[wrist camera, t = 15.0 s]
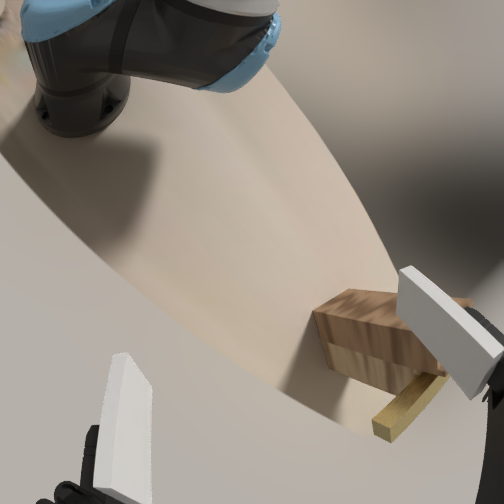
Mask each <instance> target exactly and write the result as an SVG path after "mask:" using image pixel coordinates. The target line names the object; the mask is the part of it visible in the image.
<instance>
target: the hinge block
mask: <svg viewBox="0 0 504 504" xmlns="http://www.w3.org/2000/svg"><path fill="white" fill-rule="evenodd" d="M397 295H398V293H389V292H378V291H367V290H356V289H348V290H346V291H344V292H343V293H341V294H339V295H338V296H336V297H335V298H333V299H331V300H330V301H328V302H326V303H325V304H323V305H321V306H320V307H318V308H316V309H315V310H313V313H314V317H315V320H316V324H317V327H318V330H319V334H320V337H321V341H322V344H323V348H324V351H325V355H326V358H327V362H328V365H329V369H332V370H334V371H336V372H339V373H341V374H343V375H346V376H348V377H351V378H353V379H355V380H358V381H360V382H363V383H365V384H368V385H370V386H373V387H375V388H378V389H380V390H383V391H385V392H388V393H391V394H393V395H396V396H397V395H398V394H399V393H400V392H401V391H402V390H403V389H404V388H405V387H406V386H407V385H408V384H409V383H410V382H411V381H412V380H413V379H414V378H415V377H416V376H417V375H420V374H421V373H422V372H426V373H430V374H434V375H438V376H442V377H446V376H447V375H448V372H447V371H446V370H445V369H444V368H443V366H442V365H441V364H440V363H439V362H438V361H437V359H436V358H435V357H434V356H433V355H432V354H431V352H430V351H429V350H428V349H427V348H426V347H425V345H424V344H423V343H422V342H421V341H420V340H419V339H418V337H417V336H416V335H415V334H414V333H413V332H412V331H411V330H410V328H409V327H408V326H407V325H406V324H405V323H404V322H403V321H402V320H401V319H400V317H399V316H398V315H397V314H396V305H397ZM450 298H451V299H453V300H454V301H455V302H456V303H457V304H458V305H459V306H461V307H462V308H463V309H464V308H465V307H467V306H468V307H470V308H471V307H472V306H473V299H467V298H452V297H450Z"/></svg>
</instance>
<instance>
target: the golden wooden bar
mask: <svg viewBox="0 0 504 504" xmlns="http://www.w3.org/2000/svg"><path fill="white" fill-rule="evenodd" d="M449 377H450V375H449V374H448V375H447V376H446V377H442V376H438V375H434V374H430V373H426V372H422V373H421V374H420V375H417V376H416V377H415V378H414V379H413V380H412V381H411V382H410V383H409V384H408V385H407V386H406V387H405V388H404V389H403V390H402V391H401V392H400V393H399V394H398V395H397V396H396V397H395V398H394V399H393V400H392V401H391V402H390V403H389V404H388V405H387V406H386V407H385V408H384V409H383V410H381V411H380V412H379V413H378V414H377V415H376V416H375V417H374V418H373V419H372V425H373V432H374V435H376V436H378V437H380V438H382V439H384V440H386V441H388V442H390V443H392V442H393V441H394V440H395V439H396V438H397V437H398V436H399V435H400V434H401V433H402V432H403V431H404V430H405V429H406V428H407V427H408V426H409V425H410V424H411V423H412V422H413V421H414V419H415V418H416V417H417V416H418V415H419V414H420V413H421V412H422V411H423V409H424V408H425V407H426V406H427V404H429V402H430V401H431V400H432V398H433V397H434V396H435V395H436V394H437V393H438V391H439V390H440V389H441V387H442V386H443V385H444V384H445V383H446V381H447V380H448V379H449Z"/></svg>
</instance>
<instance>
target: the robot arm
mask: <svg viewBox="0 0 504 504" xmlns="http://www.w3.org/2000/svg"><path fill="white" fill-rule="evenodd" d="M278 7H279V0H24V2H23V4H22V7H21V12H20V17H21V25H22V32H21V34H22V37H23V39H24V42H25V45H26V48H27V52H28V55H29V58H30V61H31V64H32V67H33V70H34V73H35V75H36V78H37V84H36V90H35V98H34V103H35V109H36V113H37V115H38V117H39V119H40V121H41V123H42V124H43V126H44V127H45V128H46V129H47V130H49V131H50V132H52V133H53V134H56V135H59V136H62V137H81V136H86V135H89V134H92V133H94V132H97V131H99V130H101V129H102V128H104V127H106V126H107V125H108V124H110V123H111V122H112V121H113V120H114V119H115V118H116V117H117V116H118V115H119V114H120V113H121V111H122V110H123V108H124V106H125V104H126V102H127V100H128V97H129V91H130V82H131V81H130V76H134V77H140V78H146V79H152V80H157V81H162V82H167V83H172V84H176V85H181V86H185V87H190V88H192V89H194V90H195V89H196V90H208V91H213V92H218V93H230V92H233V91H236V90H238V89H240V88H241V87H243V86H244V85H245V84H247V83H248V82H249V81H250V80H251V79H252V78H253V77H254V76H255V75H256V74H257V72H258V71H259V70H260V69H261V68H262V66H263V65H264V63H265V62H266V60H267V59H268V57H269V51H270V50H271V49H272V48H273V47H274V46H275V44H276V42H277V39H278V37H279V34H280V30H281V19H280V16H279V15H278V14H277V13H276V10H277V9H278ZM396 314H397V315H398V316H399V317H400V319H401V320H402V321H403V322H404V323H405V324H406V325H407V326H408V327H409V328H410V330H411V331H412V332H413V333H414V334H415V335H416V336H417V337H418V339H419V340H420V341H421V342H422V343H423V344H424V345H425V347H426V348H427V349H428V350H429V351H430V352H431V354H432V355H433V356H434V357H435V358H436V359H437V361H438V362H439V363H440V364H441V365H442V366H443V368H444V369H445V370H446V371H447V372H448V374H449V375H450V376H451V377H452V378H453V380H454V381H455V382H456V383H457V385H458V386H459V387H460V388H461V389H462V391H463V392H464V393H465V395H466V396H467V397H468V398H469V400H472V399H473V398H474V397H475V396H477V395H478V394H479V393H481V392H482V390H483V389H484V387H485V385H486V384H488V385H489V386H490V387H489V389H488V391H487V392H486V394H485V395H484V397H483V400H482V402H484V401H485V400H486V398H487V397H488V401H487V402H488V418H487V433H486V445H485V453H484V460H483V467H482V473H481V479H480V484H479V489H478V494H477V498H476V502H475V504H504V335H503V334H502V333H501V332H500V331H499V330H498V329H497V328H496V327H495V326H494V325H492V324H491V323H490V322H489V321H488V320H487V319H485V317H484V316H483V315H481V313H479V312H478V311H477V310H475V309H473V308H470V307H468V306H467V307H465V308H464V309H463V308H462V307H461V306H459V305H458V304H457V303H456V302H455V301H454V300H453V299H451V298H450V297H449V296H448V295H447V294H446V293H444V292H443V291H442V290H441V289H440V288H439V287H437V286H436V285H435V284H434V283H433V282H431V281H430V280H429V279H428V278H426V277H425V276H424V275H423V274H422V273H420V272H419V271H418V270H416V269H415V268H414V267H413V266H412V265H411V266H408V267H406V268H404V269H401V270H399V284H398V295H397V305H396ZM152 390H153V389H152V387H151V385H150V384H149V383H148V381H147V380H146V378H145V377H144V376H143V374H142V373H141V371H140V370H139V368H138V367H137V365H136V364H135V363H134V361H133V360H132V358H131V357H130V355H129V354H128V352H123V353H118V354H114V355H113V358H112V362H111V367H110V371H109V376H108V381H107V386H106V391H105V397H104V402H103V408H102V414H101V420H100V425H92V426H91V428H90V430H89V431H88V433H87V435H86V441H85V448H84V457H83V462H82V470H81V480H80V486H78V485H77V484H75V483H73V482H71V481H64V482H61V483H60V484H59V485H58V486H57V487H56V489H55V492H54V500H55V503H53V502H52V501H50V500H48V499H40V500H38V501H37V502H36V504H152V489H151V412H152Z"/></svg>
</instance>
